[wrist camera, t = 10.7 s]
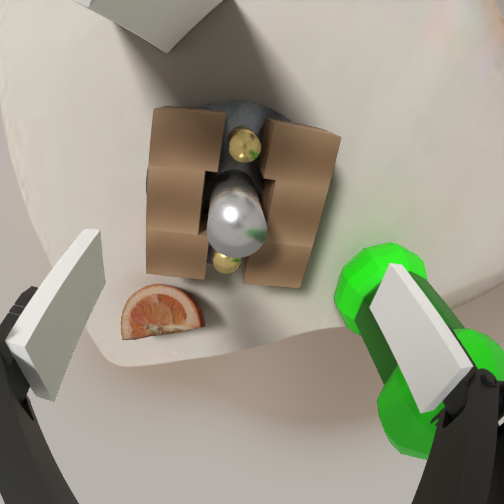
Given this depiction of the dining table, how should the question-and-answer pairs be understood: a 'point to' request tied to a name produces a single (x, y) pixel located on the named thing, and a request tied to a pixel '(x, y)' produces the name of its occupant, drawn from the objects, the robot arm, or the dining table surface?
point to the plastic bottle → (364, 323)
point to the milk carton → (154, 17)
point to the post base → (225, 156)
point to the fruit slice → (159, 312)
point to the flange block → (272, 203)
